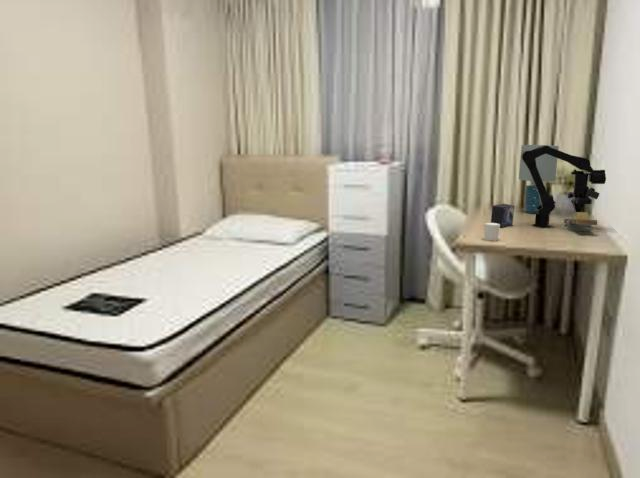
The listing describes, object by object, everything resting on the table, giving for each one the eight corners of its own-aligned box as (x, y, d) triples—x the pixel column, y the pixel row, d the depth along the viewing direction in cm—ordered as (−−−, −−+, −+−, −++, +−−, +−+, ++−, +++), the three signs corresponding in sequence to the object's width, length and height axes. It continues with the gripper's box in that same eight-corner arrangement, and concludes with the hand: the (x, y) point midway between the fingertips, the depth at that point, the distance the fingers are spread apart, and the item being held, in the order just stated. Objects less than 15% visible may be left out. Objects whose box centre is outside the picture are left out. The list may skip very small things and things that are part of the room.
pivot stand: (599, 236, 247) (600, 226, 246) (572, 234, 249) (573, 225, 248) (584, 225, 271) (585, 216, 270) (560, 224, 273) (561, 215, 272)
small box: (501, 228, 264) (503, 207, 262) (489, 226, 269) (491, 205, 267) (513, 225, 271) (515, 205, 268) (501, 223, 276) (503, 203, 273)
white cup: (488, 241, 235) (489, 225, 234) (479, 238, 242) (480, 222, 240) (502, 240, 237) (503, 224, 236) (493, 237, 244) (494, 222, 242)
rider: (587, 221, 256) (588, 212, 256) (576, 221, 257) (576, 212, 257) (583, 221, 263) (584, 212, 263) (572, 221, 264) (573, 212, 264)
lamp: (519, 214, 301) (526, 146, 293) (512, 209, 320) (518, 144, 311) (556, 215, 298) (563, 146, 290) (546, 210, 317) (553, 145, 309)
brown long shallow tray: (597, 225, 246) (597, 220, 246) (577, 224, 248) (577, 219, 247) (581, 223, 271) (581, 219, 271) (563, 223, 273) (563, 218, 273)
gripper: (605, 186, 251) (601, 219, 254) (592, 181, 268) (589, 211, 272) (579, 186, 253) (576, 219, 256) (568, 181, 270) (566, 211, 274)
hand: (577, 215), depth 265 cm, fingers closed
